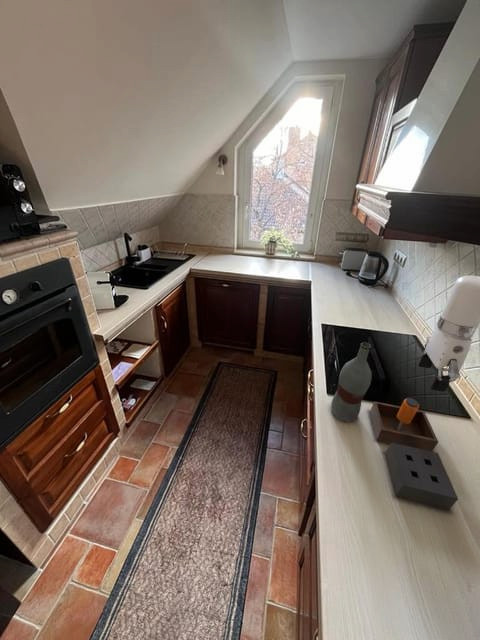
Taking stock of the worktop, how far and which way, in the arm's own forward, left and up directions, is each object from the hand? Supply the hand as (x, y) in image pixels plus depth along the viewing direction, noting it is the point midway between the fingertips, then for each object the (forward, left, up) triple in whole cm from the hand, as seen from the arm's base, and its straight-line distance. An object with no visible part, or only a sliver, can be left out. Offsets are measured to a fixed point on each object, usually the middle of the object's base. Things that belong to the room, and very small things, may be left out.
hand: (430, 377), depth 72 cm
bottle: (+18, -3, -25) cm, 31 cm away
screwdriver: (+1, 0, -24) cm, 24 cm away
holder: (+1, +16, -24) cm, 29 cm away
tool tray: (+1, 0, -24) cm, 24 cm away
